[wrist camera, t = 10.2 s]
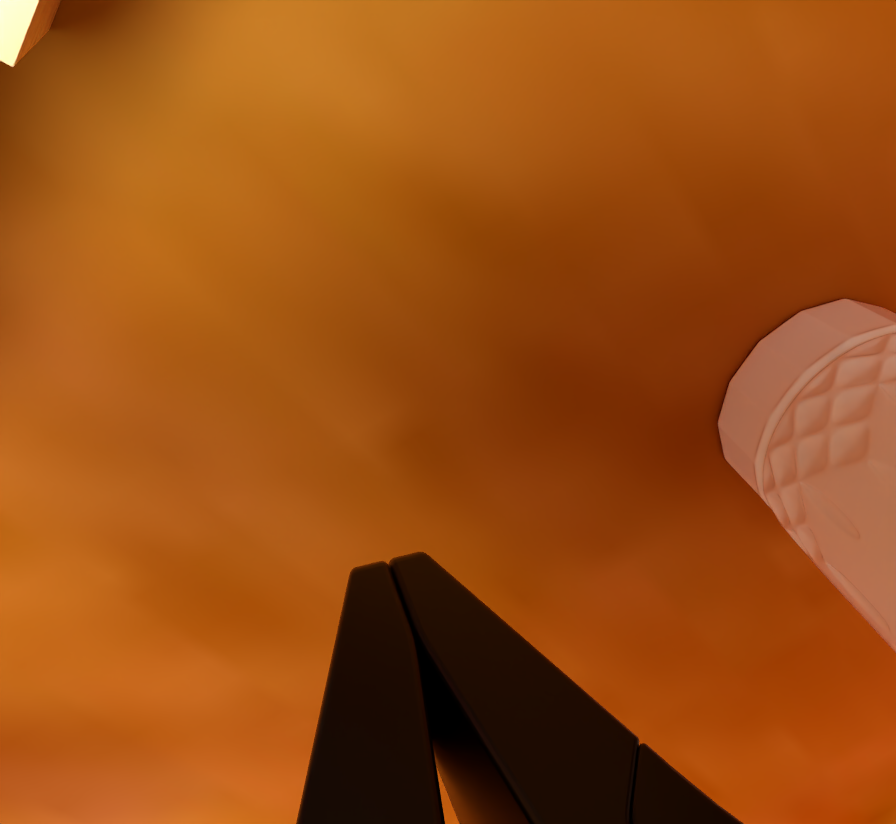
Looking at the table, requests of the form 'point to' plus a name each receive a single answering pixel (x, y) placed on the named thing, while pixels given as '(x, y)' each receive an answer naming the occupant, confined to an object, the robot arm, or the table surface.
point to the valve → (23, 26)
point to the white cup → (826, 445)
